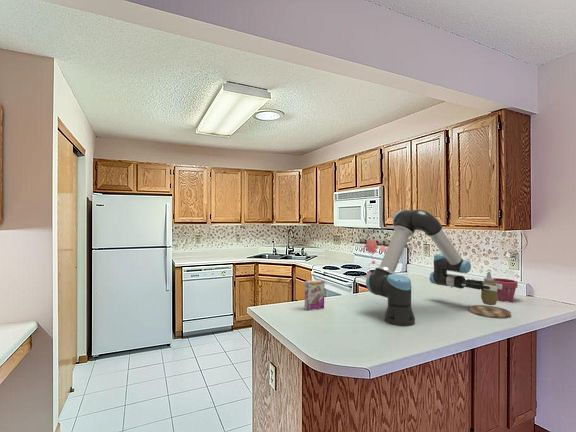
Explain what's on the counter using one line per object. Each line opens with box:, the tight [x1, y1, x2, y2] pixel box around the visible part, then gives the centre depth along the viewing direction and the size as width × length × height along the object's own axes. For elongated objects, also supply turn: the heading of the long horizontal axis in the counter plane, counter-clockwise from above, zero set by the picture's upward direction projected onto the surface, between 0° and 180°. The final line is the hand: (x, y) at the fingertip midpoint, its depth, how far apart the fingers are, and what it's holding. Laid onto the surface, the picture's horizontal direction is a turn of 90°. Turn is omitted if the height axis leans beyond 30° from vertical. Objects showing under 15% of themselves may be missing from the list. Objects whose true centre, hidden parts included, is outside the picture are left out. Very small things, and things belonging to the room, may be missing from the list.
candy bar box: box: [304, 279, 325, 311], centre depth 188 cm, size 11×5×16 cm, turn 110°
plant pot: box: [493, 277, 519, 302], centre depth 204 cm, size 14×14×13 cm
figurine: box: [360, 238, 387, 278], centre depth 274 cm, size 15×26×35 cm, turn 41°
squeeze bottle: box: [480, 271, 498, 306], centre depth 178 cm, size 8×8×18 cm
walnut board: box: [468, 304, 512, 319], centre depth 178 cm, size 20×20×2 cm
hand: (499, 287), depth 174 cm, fingers closed on squeeze bottle, 6 cm apart
